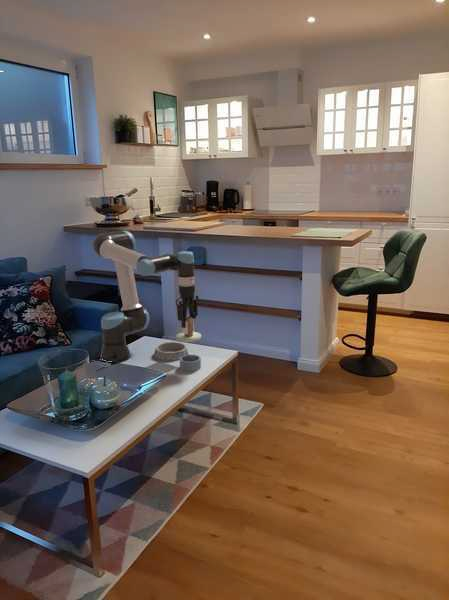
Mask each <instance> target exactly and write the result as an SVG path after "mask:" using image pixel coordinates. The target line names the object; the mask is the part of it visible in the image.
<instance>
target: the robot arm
mask: <svg viewBox="0 0 449 600" xmlns="http://www.w3.org/2000/svg"><path fill="white" fill-rule="evenodd" d="M136 243H137V242H136V239H135V236H134V235H133V234H132V233H131V232H130V231H128V230H117V231H115V230H114V231H109V232H101V233H99V234H97V235H96V236H95V237H94V239H93V241H92V249H93V251H94V253H95V254H96V256H97V255H98V256H99V257H100V258H103V259H108V260H109V259H111V260H112V261H114V267H115V272H116V276H117V282H118V287H119V288H118V289H119V292H120V297H121V301H122V302H121V303H122V307H121V308H120V311H114V312H112V311H111V312H109V313H106V314H104V315H102V317H101V320H100V322H101V323H100V327H101V337H102V347H101V352H100V355H99V356H100V361H101V360H102V359H103V360H106V361H112V362H118V363H122V361H123V362H125V361H127V360H129V359H130V358H131V351H130V350H129V346H128V344H127V340H126V336H128V335H131V334H134V333H137V332H141V331H143V330H145V329H147V328H148V326H149V324H150V315H149V312H148V311H147V309H146V308H144V306H143V305H142V304H141V303H140V300H139V296H138V290H137V285H136V279H135V274H134V273H135V272H134V269H135V270H136V271H137V273H138V274H139V275H140V276H141V277H146V276H148V277H149V276H150V277H151V275H156V274H157V275H158V274H159V273H166V272H169V271H174V272H177V276H178V277H177V278H178V279H177V280H178V293H179V295H180V297H179V299H178V300H175V304H176V309H177V310H176V311H177V312H176V313H177V320H178V321H180V322H181V328H182V332H183V334H188V323H187V321H186V317H188V316H187V315H188V314H189V316H190V317H192V324H193V332H195V325H196V324H195V321H196V318H197V317H198V314H199V313H198V312H199V311H198V310H199V309H198V308H199V307H198V304H199V303H198V300H199V295H196V294H195V292H196V289H195V288H196V285H195V282H196V281H195V257H194V252H193V251H184V250H183V251H179V252H177V254H171V253H162V254H160V255H159V256H153V257H150V256H148V255H145V254H142V253H140V252H137V251H136V246H137V244H136Z"/></svg>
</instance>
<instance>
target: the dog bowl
mask: <svg viewBox="0 0 449 600" xmlns="http://www.w3.org/2000/svg"><path fill="white" fill-rule="evenodd" d="M171 351H172V352H171ZM188 354H189V351H188V348H187V345H186V344H185V343H184V342H180V341H169V342H163V343H160V344H158V345H156V347H155V350H154V355H153V357H154V358H155V359H156V360H159V361H161V362H163V361H164V362H175V361H180V357H182V356H184V355H188Z"/></svg>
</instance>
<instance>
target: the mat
mask: <svg viewBox="0 0 449 600" xmlns="http://www.w3.org/2000/svg"><path fill="white" fill-rule="evenodd" d="M145 367H146V368H151V369H155V370H160V371H163V372H165V374H167V373H169V372H172V371H174V370H176V369H178V368H179V367H178V366H176V365H172V364H169V363H165V362H163V361H161V360H159V361H157V362H155V363H152V364H150V365H148V366H145Z"/></svg>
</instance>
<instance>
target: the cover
mask: <svg viewBox="0 0 449 600" xmlns="http://www.w3.org/2000/svg"><path fill="white" fill-rule="evenodd" d="M186 321H187V323H188V334H183V331H182V332H179V333H177V334H176V336H175V339H176V341H177V342H179V343H193V342H197V341H200V340H201V339H202V334H201V332H196V331H194V332H193V324H192V317H190V315H189V316H186Z"/></svg>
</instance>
